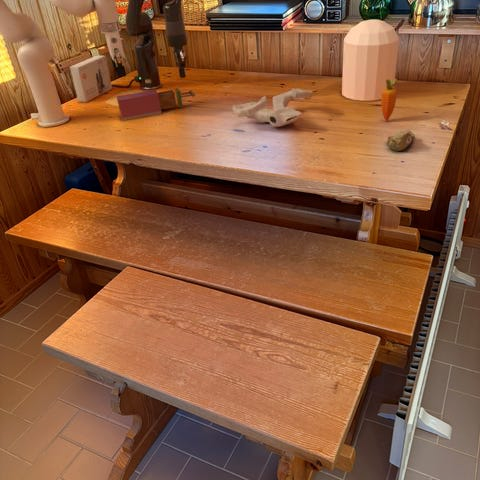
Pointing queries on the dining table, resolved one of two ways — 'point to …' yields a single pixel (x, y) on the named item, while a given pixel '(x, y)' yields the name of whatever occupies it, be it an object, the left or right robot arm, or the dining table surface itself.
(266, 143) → the dining table surface
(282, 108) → the beige irregular branched piece
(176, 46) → the right robot arm
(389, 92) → the carrot
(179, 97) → the drawer
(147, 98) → the cabinet
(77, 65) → the skincare box
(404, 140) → the rock
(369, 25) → the container
